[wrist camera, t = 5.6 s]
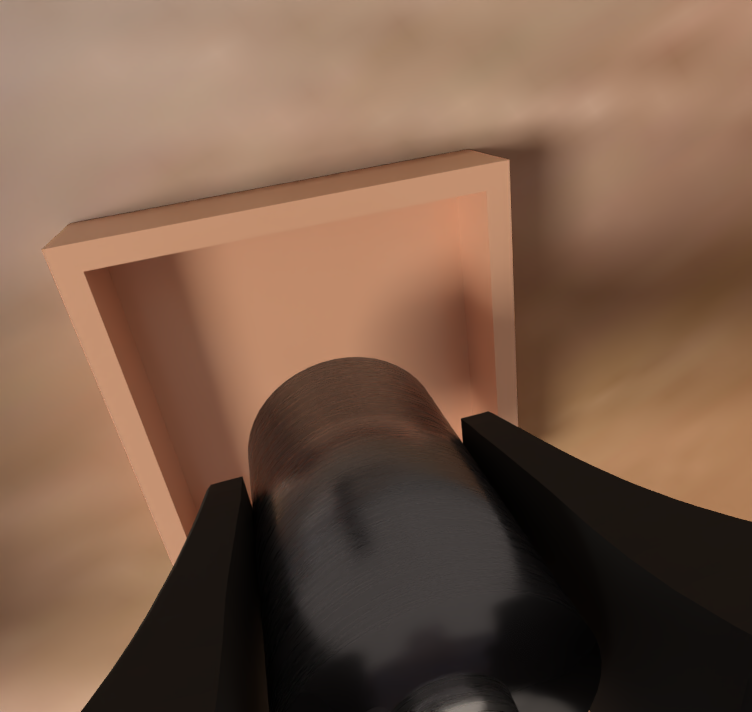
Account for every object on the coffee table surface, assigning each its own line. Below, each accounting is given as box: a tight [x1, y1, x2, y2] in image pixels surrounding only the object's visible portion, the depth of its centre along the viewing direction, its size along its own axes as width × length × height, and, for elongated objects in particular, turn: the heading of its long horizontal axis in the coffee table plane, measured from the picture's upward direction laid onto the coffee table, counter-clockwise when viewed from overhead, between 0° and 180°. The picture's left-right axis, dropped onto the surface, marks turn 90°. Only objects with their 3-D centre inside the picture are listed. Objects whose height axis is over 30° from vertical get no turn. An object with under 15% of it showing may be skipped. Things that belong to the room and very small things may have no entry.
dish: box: [42, 149, 518, 566], centre depth 16 cm, size 10×10×2 cm
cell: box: [248, 357, 602, 712], centre depth 10 cm, size 4×4×7 cm
